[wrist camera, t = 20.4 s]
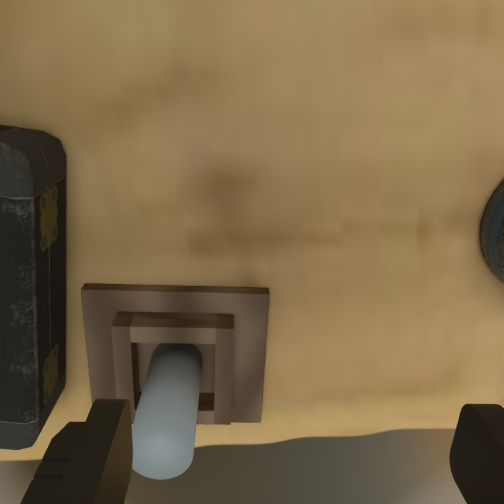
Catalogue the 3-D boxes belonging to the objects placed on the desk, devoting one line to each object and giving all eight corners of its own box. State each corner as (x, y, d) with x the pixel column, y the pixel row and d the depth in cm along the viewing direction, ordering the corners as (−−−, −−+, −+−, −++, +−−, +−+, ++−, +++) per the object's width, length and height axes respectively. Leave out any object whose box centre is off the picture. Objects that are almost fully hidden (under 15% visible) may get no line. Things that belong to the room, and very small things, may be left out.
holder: (97, 412, 45) (86, 440, 42) (85, 283, 40) (71, 303, 37) (260, 414, 46) (262, 441, 43) (268, 288, 41) (271, 308, 38)
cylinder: (144, 372, 42) (117, 469, 32) (161, 331, 41) (137, 420, 31) (192, 387, 43) (180, 486, 33) (209, 348, 42) (202, 439, 31)
